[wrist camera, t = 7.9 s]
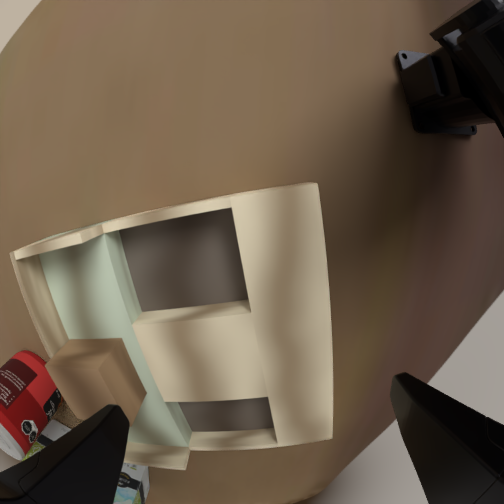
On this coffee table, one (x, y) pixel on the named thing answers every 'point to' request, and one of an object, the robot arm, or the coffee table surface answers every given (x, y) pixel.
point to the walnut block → (97, 377)
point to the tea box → (131, 478)
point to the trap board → (201, 317)
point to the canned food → (25, 402)
